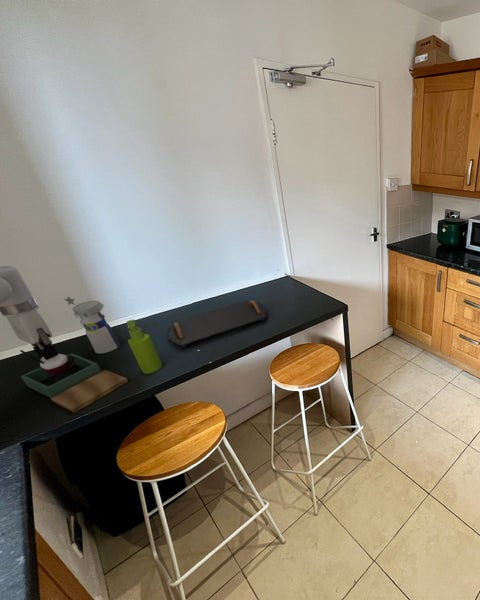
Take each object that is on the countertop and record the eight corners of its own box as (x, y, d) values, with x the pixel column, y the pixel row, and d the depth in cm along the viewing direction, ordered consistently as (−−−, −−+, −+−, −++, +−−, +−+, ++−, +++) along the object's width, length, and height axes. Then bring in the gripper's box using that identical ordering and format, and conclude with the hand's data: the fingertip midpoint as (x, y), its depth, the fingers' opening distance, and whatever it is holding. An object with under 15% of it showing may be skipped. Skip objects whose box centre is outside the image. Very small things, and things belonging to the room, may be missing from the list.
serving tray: (256, 302, 159) (253, 291, 156) (273, 320, 143) (271, 308, 141) (165, 330, 136) (160, 317, 134) (174, 354, 121) (169, 341, 118)
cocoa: (77, 362, 111) (62, 333, 105) (77, 371, 107) (62, 341, 101) (37, 373, 105) (20, 343, 99) (37, 383, 101) (19, 352, 95)
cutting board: (74, 413, 95) (72, 409, 94) (52, 402, 99) (50, 398, 98) (128, 381, 107) (126, 378, 107) (107, 372, 111) (105, 369, 111)
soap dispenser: (143, 377, 109) (119, 329, 100) (142, 367, 114) (119, 320, 105) (163, 370, 112) (142, 323, 103) (161, 361, 117) (140, 315, 108)
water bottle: (118, 350, 123) (89, 293, 112) (90, 356, 120) (58, 298, 109) (124, 339, 130) (97, 285, 118) (98, 345, 127) (68, 289, 115)
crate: (53, 399, 100) (46, 388, 98) (27, 386, 105) (20, 376, 103) (102, 373, 111) (97, 363, 109) (77, 362, 116) (71, 353, 114)
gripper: (-13, 307, 95) (20, 356, 103) (15, 317, 89) (47, 368, 97) (22, 297, 101) (50, 344, 109) (49, 306, 95) (77, 355, 103)
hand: (48, 355), depth 103 cm, fingers closed on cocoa, 3 cm apart
